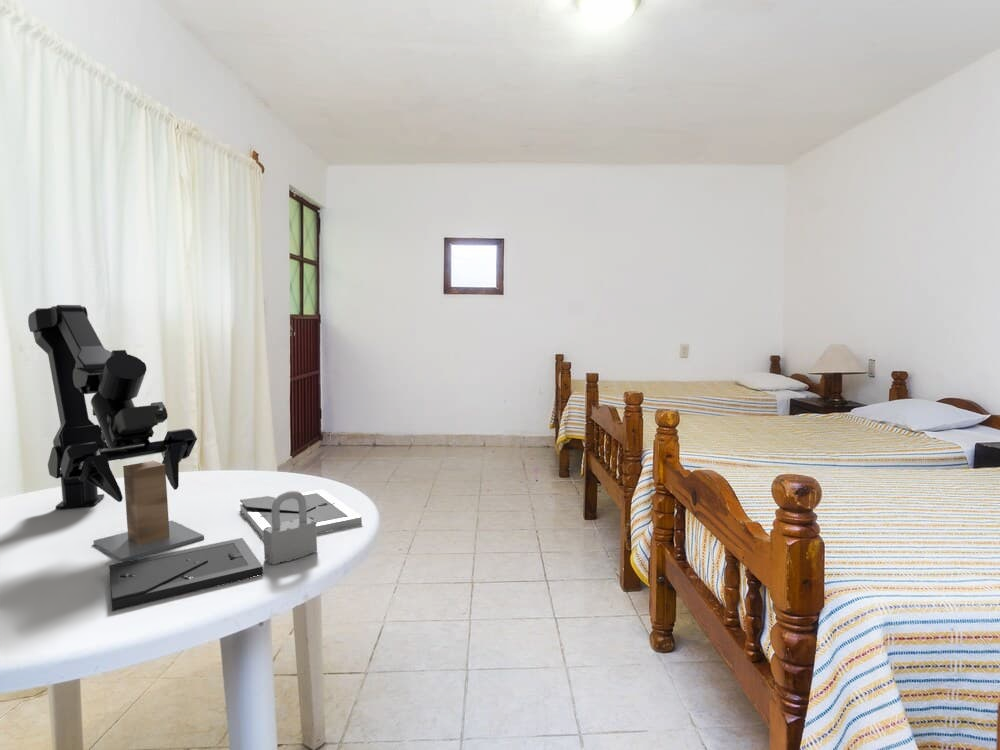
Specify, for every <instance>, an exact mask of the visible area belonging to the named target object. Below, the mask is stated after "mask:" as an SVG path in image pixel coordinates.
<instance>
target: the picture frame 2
mask: <svg viewBox="0 0 1000 750" xmlns="http://www.w3.org/2000/svg"><path fill="white" fill-rule="evenodd" d="M302 494H303V495H304V497H305V499H306V509H307V517H308V518H310V519H312V520H314V521H316V533H318V534H322V533H321V532H323V533H327V532H326V531H328V532H331V530H333V531H336V530H335V529H337V530H341V529H346V527H347V528H350V527H354V526H361V525H362V524H363V523H362V516H361V515H360V514H358V513H356V512H355V511H354V510H353V509H351V508H350V507H348V506H346V505H345V504H344V503H343V502H341V501H340V500H338V499H337V498H335V497H334V496H333V495H331V494H330V493H328V492H327V491H326V490H324V489H319V490H314V491H313V490H312V491H308V492H302ZM276 498H277V497H274V496H269V495H266V496H265V495H264V496H258V497H251V498H244V499H240V500H239V501H240V503H239V507H240V509H239V510H240V512H241V511H242V512H243V513H242V512H241V513H242V514H243V516H244V515H245V516H246V517H247V518H246V517H245V516H244V517H245V518H246V519H247V521H248V522H249V521H250V522H251V523H250V522H249V523H250V524H251V526H252V527H253V526H254V527H255V528H254V527H253V528H254V529H255V530H256V531H258V532H259V533H258V532H257V533H258V534H259V535H260V537H261V536H262V537H263V538H264V536H263V534H264V533H263V529H264V528H265V527H270V526H272V512H271V511H272V504H273V502H274V500H275V499H276ZM279 511H280V523H282V522H286V521H290V520H296V519H299V504H298V501H297V499H294V498H292V499H287V500H285V501H283V502H282V503H281V505H280V510H279ZM262 537H261V538H262ZM263 538H262V539H263Z"/></svg>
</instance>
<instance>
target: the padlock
mask: <svg viewBox="0 0 1000 750" xmlns="http://www.w3.org/2000/svg"><path fill="white" fill-rule="evenodd" d="M302 493H303V492H302ZM302 493H301V492H299V491H297V490H296V491H295V490H291V491H287V492H286V491H285V492H283V493H281V494H279V495H277V496H276V497H275V498H276V499H275V500H274V502H273V504H272V511H271V512H272V526H270V527H265V528H264V529H263V533H264V534H263V536H264V539H263V551H264V552H263V555H264V560H265V561H267V562H268V563H269V564H271V565H274V564H275V565H277V564H281V563H280V562H282V563H284V561H286V562H290V561H289V560H291V561H293V560H292V559H294V560H298V559H301V558H303V557H305V556H309V555H311V554H314V552H315V553H316V552H317V551H318V545H317V544H318V543H317V542H318V541H317V534H316V521H314V520H312V519H310V518H308V517H307V509H306V499H305V497H304V495H303V494H302ZM292 498H294V499H297V501H298V504H299V519H296V520H290V521H286V522H282V523H280V511H279V510H280V505H281V503H282V502H283V501H285V500H287V499H292ZM300 557H301V558H300ZM297 558H298V559H297ZM276 563H277V564H276Z"/></svg>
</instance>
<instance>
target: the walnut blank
mask: <svg viewBox="0 0 1000 750" xmlns="http://www.w3.org/2000/svg"><path fill="white" fill-rule="evenodd" d="M122 469H123V481H124V495H125V496H124V497H125V508H126V524H127V525H126V526H127V532H128V539H129V540H131V541H133V542H134V543H136V544H138V545H142V544H146V543H150V542H153V541H157V540H161V539H164V538H168V537H170V534H169V521H170V519H169V507H168V506H169V504H168V502H169V501H168V487H167V476H166V470H165V464H162V462H158V461H156V460H152V461H151V460H150V461H145V462H139V463H133V464H129V465H127V464H126V465H123V466H122Z"/></svg>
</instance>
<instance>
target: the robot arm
mask: <svg viewBox="0 0 1000 750" xmlns="http://www.w3.org/2000/svg"><path fill="white" fill-rule="evenodd" d="M88 316H89V315H88V310H87V308H86V306H82V305H81V304H57V305H56V306H54V305H53V306H51V307H48V308H46V307H45V308H39V307H38V308H35V310H33V311H32V312H30V313H29V315H28V318H27V324H28V329H29V331H30V332H31V333H33V338H34V340H35V341H34V342H35V343H36V344H37V346H38V347H39V348H41V349H42V350H43V351H44V352H45V353H46V354H47V358H48V361H49V369H50V372H51V379H52V385H53V389H54V396H55V400H56V401H55V402H56V408H57V412H58V418H59V423H60V425H59V429H58V430H57V432H56V434H55V436H54V438H53V441H52V443H53V447H51V451H50V454H49V455H50V456H49V459H48V462H47V469H48V473H49V476H51V477H52V478H54V479H60V485H61V498H62V500H61V501H60V503H59V502H58V504H56V505H55V509H56V508H57V509H58V508H60V509H69V508H70V507H71V508H80V506H82V507H91V506H95V505H97V504H98V503H99V502H100V501H101V500H102V499H103V498H104V497H105V494H104V493H102V494H99V492H98V491H99V490H98V489H100V490H101V491H103V492H105V493H106V494H107V495H108V496H110V497H112V499H114V500H115V501H116V502H118V503H120V502H121V503H122V502H123V498H124V497H123V493H122V491H121V488H120V486H119V484H118V482H117V479H116V478H115V476H114V473H113V471H112V470H111V467H110V463H109V462H111V461H117V460H120V461H121V460H128V459H135V458H139V457H144V456H151V455H158V454H161V456H162V461H161V463H162V464H165V470H166V479H167V480H168V482H169V484H170V486H171V488H172V489H173V490H174V491H176V490H178V488H179V485H180V484H179V482H180V481H179V480H180V479H179V477H180V476H179V472H180V471H179V469H180V468H179V465H180V464H179V463H181V461H182V460H185V459H187V458H189V457H190V455H191V453H192V451H193V449H194V447H195V444H196V442H197V440H198V438H197V437H198V436H196V434H195V431H194V430H192V429H191V428H182V429H181V428H180V429H175V430H167V432H166V434H165V437H164V439H163V440H158V441H150V438H153V436H154V434H155V432H154V430H153V428H154V427H155V426H158V425H159V424H160V423H164V422H165V421H167V419H168V411H167V408H166V406H165V404H164V402H163V401H158V402H151V403H150V405H149V404H148V405H142V406H135V404H134V401H133V399H135V398H136V397H138V395H139V393H140V389H141V387H142V384H143V381H144V378H145V375H146V373H147V365H146V362H144V361H143V360H142V359H140V358H138V357H136V356H134V355H131V354H128V353H127V351H126V349H118V350H115V349H113V350H111V351H110V350H108V349H106V348H105V347H104V345H103V343H102V342H101V340H100V338H99V336H98V334H97V333H96V331H95V329H94V327H93V325H92V323H91V322H90V319H89V317H88ZM90 394H91V395H92V394H94V395H93V396H92V397H91V400H90V404H91V407H92V416H93V417H96V420H97V421H98V424H95V423H94V422H92V420H90V418H89V413H88V408H87V402H86V398H85V395H90ZM58 510H59V509H58Z"/></svg>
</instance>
